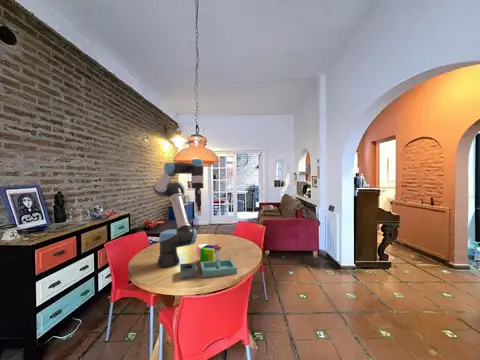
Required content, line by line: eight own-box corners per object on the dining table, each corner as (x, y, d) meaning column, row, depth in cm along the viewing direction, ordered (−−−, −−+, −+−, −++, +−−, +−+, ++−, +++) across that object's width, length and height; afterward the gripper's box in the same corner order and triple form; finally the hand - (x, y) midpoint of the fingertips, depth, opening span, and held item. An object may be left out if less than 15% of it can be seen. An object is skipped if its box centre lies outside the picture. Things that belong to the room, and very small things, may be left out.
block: (180, 271, 153) (180, 264, 153) (195, 270, 156) (195, 262, 156) (180, 279, 142) (180, 271, 142) (197, 277, 144) (197, 269, 144)
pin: (213, 268, 156) (213, 244, 156) (220, 267, 157) (220, 243, 157) (215, 271, 152) (214, 246, 151) (222, 270, 153) (221, 245, 153)
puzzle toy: (218, 259, 175) (218, 246, 175) (212, 264, 166) (212, 250, 166) (206, 258, 179) (206, 244, 178) (200, 262, 169) (200, 248, 169)
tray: (200, 267, 159) (200, 262, 159) (231, 264, 165) (231, 259, 165) (202, 277, 144) (202, 271, 144) (236, 273, 150) (236, 267, 150)
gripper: (191, 182, 168) (191, 211, 169) (193, 183, 144) (193, 217, 144) (201, 181, 170) (201, 211, 170) (205, 182, 146) (205, 217, 146)
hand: (198, 214), depth 157 cm, fingers open, 13 cm apart
